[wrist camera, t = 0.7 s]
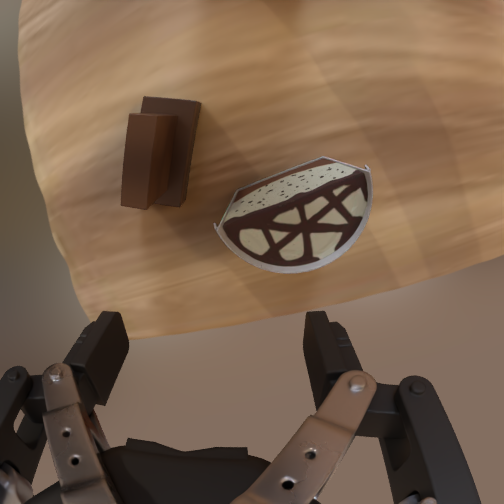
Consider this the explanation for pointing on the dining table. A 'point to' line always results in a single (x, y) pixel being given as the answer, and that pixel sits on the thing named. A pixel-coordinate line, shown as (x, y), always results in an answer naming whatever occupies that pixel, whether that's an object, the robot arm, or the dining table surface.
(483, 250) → the dining table surface
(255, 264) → the food container
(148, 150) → the brown stepped block
